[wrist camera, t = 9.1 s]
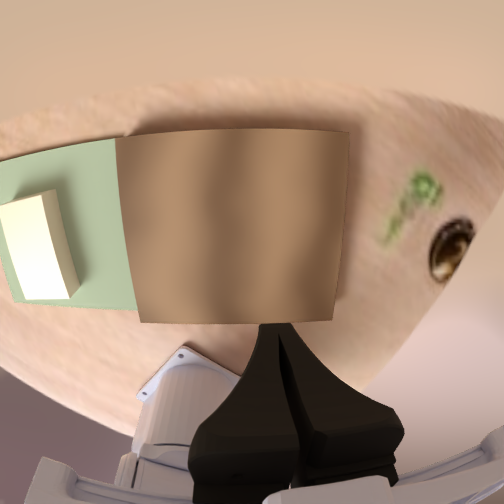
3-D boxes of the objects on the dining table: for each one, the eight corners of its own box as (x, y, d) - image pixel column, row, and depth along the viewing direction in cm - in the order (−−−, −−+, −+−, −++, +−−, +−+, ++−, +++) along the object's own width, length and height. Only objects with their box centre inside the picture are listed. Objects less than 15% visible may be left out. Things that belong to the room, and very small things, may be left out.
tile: (-3, 206, 17) (12, 199, 19) (26, 299, 20) (37, 288, 22) (40, 194, 17) (55, 188, 19) (69, 298, 20) (80, 286, 22)
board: (339, 132, 18) (349, 132, 17) (325, 305, 23) (332, 320, 22) (126, 137, 18) (114, 138, 16) (147, 308, 23) (140, 322, 21)
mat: (119, 137, 18) (117, 137, 18) (141, 307, 23) (140, 310, 23) (-14, 166, 18) (-17, 166, 17) (16, 300, 23) (14, 302, 22)
